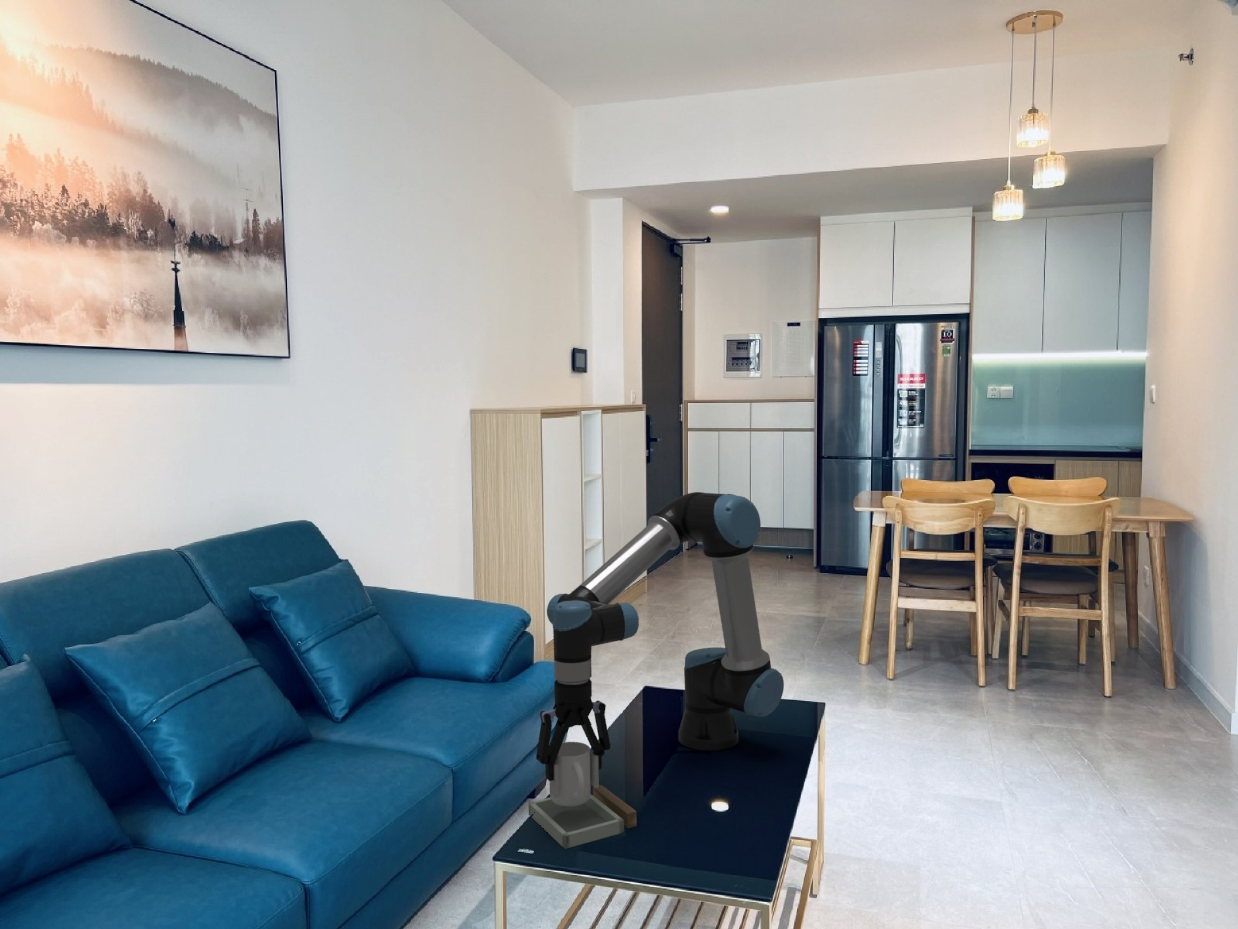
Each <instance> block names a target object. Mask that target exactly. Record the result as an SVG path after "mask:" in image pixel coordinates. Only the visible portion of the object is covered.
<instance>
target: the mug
mask: <svg viewBox="0 0 1238 929" xmlns="http://www.w3.org/2000/svg"><path fill="white" fill-rule="evenodd" d="M590 752H591V746H589V745H588V744H586V743H583V742H581V741H580V742H579V741H563V742H562V745H561V748H560V750H559V753H558V756H557V758H556V761H555V763H557V764H558V766H559V797H558V798H555V797H554V796H553V795H551V794H550V793H549V796H550V797H551V800H552V801H553V802H554V803H555V804H557V805H560V806H578V805H581V804H584V803H586V802H587V801H588V800H589V798H590V794H592V793H591V787H592V785H591V781H590ZM550 797H549V798H550Z"/></svg>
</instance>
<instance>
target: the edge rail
mask: <svg viewBox="0 0 1238 929" xmlns="http://www.w3.org/2000/svg"><path fill="white" fill-rule="evenodd" d="M592 795H593V796H594V797H595V798H597V799H598V800H599V801H600V802H602V803H603V804H604V805H605V806H607V807H608V808H609V809H610V810H612V811H613V812H614V813H616V814H617V815H618V816H619V817H621V818H622V819H623V820H624V827H625V828H627V829H631V828H634V827H638V826H637V825H638V824H637V821H638V820H637V814H638V813H637V811H636V809H634V808H633V807H631V806H630V805H628V804H627V803H626V802H624V801H623V800H622V799H621V798H620V797H618V796H617V795H615V794H614V793H612V792H611V791H610V790H609V789H607V788H606V787H605V786H603V785H602V784H599V788H594V787H593V786H592Z"/></svg>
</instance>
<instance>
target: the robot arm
mask: <svg viewBox="0 0 1238 929" xmlns="http://www.w3.org/2000/svg"><path fill="white" fill-rule="evenodd" d="M761 523H762V522H761V517H760V513H759V511H758V509H757V507H756V505H755V504H754V503H753V502H752V501H751V500H749V499H748V498H747V497H745V496H741V495H736V494H733V493H711V492H704V491H703V492H701V491H695V492H690V493H686V494H684V495H681V496H679V497H677V498H675V499H674V500H671V501H670V502H669V503H667V504H666V505H664V506H663V507H662V508H660V509H659V510H658V511H656V512H655V513H654V514H653V515H652V516H650V517H649V518H648V520H647V525H646V526H645V527H644V528H643V529H642V530H641V531H640V532H639V533H637V534H636V535H634V537H633V538H632V539H631V540H630V541H628V542H627V543H626V544H625V545H624V546H623V547H621V548H620V549H619V550H618V551H617V552H616V553H615V554H614V555H612V556H611V557H610V558H609V559H608V560H607V561H606V562H605V563H603V564H602V565H601V566H600V567H598V569H596V571H594V572H592V574H591V575H589V577H587V578H586V579H585V580H584V581H583V582H581V583H580V584H579V586H576V588H574V589H573V591H571V592H570V593H558V594H555V595H554V596H553V597H552V598H551V599H550V600H549V602H548V603H547V607H546V615H547V620H548V621H549V622H550V624H551V625H552V634H553V637H552V638H553V639H552V640H553V675H554V679H555V680H554V683H553V687H554V688H553V690H554V691H553V693H554V694H553V697H554V705H553V708H552V709H551V710H548V711H545V710H541V711H540V713H539V716H540V723H541V724H540V731H539V737H538V742H537V743H538V744H537V747H536V755H535V758H536V760H537V761H538V763H540V764H541V765H545V766H544V767H545V769H544V770H545V778H546V779H547V781H548V782H549V795H550V794H551V795H553V796H554V797H555V798H558V797H559V766H558V764H557V763H555V761H556V758H557V756H558V753H559V750H560V748H561V745H562V743H563V742H564V739H565V736H566V734H567V733H568V732H569V730H570V728H573V727H576V726H578V727H579V726H581V728H582V731H583V732H584V734H585V737H586V738H587V741H588V744H589V745H590V746H589V747H590V749H591V750H592V751H590V781H591V787H592V788H593V787H594V788H599V785H600V784H599V783H600V782H599V780H600V778H599V771H600V770H602V767H603V764H602V763H603V756H604V755H605V753H606V752H605V751H608V750H609V751H610V749H611V741H610V735H609V730H608V725H607V721H606V720H607V718H606V715H605V714H606V707H607V706H606V704H605V703H604V702H602V701H601V700H596V701H592V696H593V692H592V691H593V688H592V686H593V684H592V682H593V681H592V679H591V678H592V677H593V676H592V648H593V647H595V646H599V645H605V644H609V643H613V642H614V643H615V642H619V641H620V642H621V641H624V640H625V639H626V640H627V639H629V638H632V637H634V636H635V635H636V634H637V632H638V630H639V628H640V627H639V626H640V621H639V620H640V618H639V613H638V611H637V609H636V608H635V607H634V606H633V605H632V604H630V603H628V602H616V603H614V604H612V602H613V601H614V600H615V599H616V598H617V597H618V596H620V595H621V594H622V593H623V592H624V591H625V590H627V589H628V588H629V586H631V585H632V584H633V582H635V581H636V580H637V579H638V578H639V577H641V575H643V574H644V573H645V572H646V571H647V570H649V568H650V567H652V566H653V565H654V564H655V563H656V562H657V561H658V560H659V559H660V558H662V556H664V555H665V554H666V553H667V552H668V551H669V550H670V551H675V550H676V549H678V547H680V546H681V545H682V544H684V543H686V542H691V541H693V542H701V543H702V550H703V551H702V553H703V556H704V557H705V558H707V559H708V560H710V561H711V565H712V567H711V568H712V572H713V573H712V574H713V579H714V585H715V591H716V599H717V603H718V610H719V617H720V624H721V630H722V635H723V642H724V647H722V646H721V647H715V646H714V647H703V648H698V649H694V650H690V651H688V653H686V655H685V657H684V668H683V673H684V676H683V677H684V679H683V680H684V712H683V715H682V719H681V722H680V726H679V728H678V731H677V732H678V742H679V743H680V744H681V745H683V746H685V747H687V748H689V749H692V750H693V749H694V750H698V751H722V750H728V749H731V748H734V747H735V746H737V744H738V743H739V729H738V727H737V723H736V721H735V718H734V714H733V711H732V710H735V711H739V712H741V713H745V714H746V715H748V716H756V717H759V718H760V717H761V718H762V717H766V716H769V715H770V714H771V713H772V712H774V711H775V710H776V708H777V707H778V706H779V704H780V702H781V699H782V698H783V694H784V690H785V689H784V688H785V687H784V686H785V682H784V681H785V680H784V677H783V674H782V672H779V670H778V669H776V668H773V667H772V663H771V657H770V654H769V652H767V651H765V650H764V648H763V647H762V641H761V634H760V628H759V619H758V614H757V608H756V607H757V606H756V601H755V593H754V588H753V582H752V574H751V568H750V561H749V555H750V554H751V553H752V551H754V544H755V543H756V541H758V538H759V532H761ZM592 711H593V714H594V715H593V716H594V720H595V725H596V726H595V727H596V731H597V735H596V733H595V732H596V731H595V730H594V729H593V725H592V722H591V721H590V718H589V716H590V714H591V713H592ZM554 717H556V718H557V719H556V722H555V726H554V727H555V729H554V732H553V735H552V728H553V726H552V724H553V722H554ZM551 735H552V737H551ZM597 736H598V737H597Z"/></svg>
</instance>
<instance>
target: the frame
mask: <svg viewBox="0 0 1238 929" xmlns="http://www.w3.org/2000/svg"><path fill="white" fill-rule="evenodd" d="M534 812H535V813H534ZM532 814H534V815H533V816H532V817H531V815H532ZM528 816H529V817H531V819H533V820H534V821H535V822H536V823H537V824H538V825H539V826H540V825H541V826H540V827H542V829H543V828H544V829H543V830H544V831H545V832H546V833H547V832H548V835H550V837H552V838H553V839H554V841H555V842H557V843H558V844H559V845H560V846H561V847H562V848H563V849H564V850H567V849H570V848H573V847H577V846H580V845H581V846H582V845H584V844H588V843H591V842H595V841H599V840H602V839H606V838H609V837H612V836H616V835H621V834H622V833H623V834H624V833H625V826H624V820H623V819H622V818H621V817H619V816H618V815H617V814H616V813H614V812H613V811H612V810H610V809H609V808H608V807H607V806H605V805H604V804H603V803H602V802H600V801H599V800H598V799H597V798H595V797H594V796H593V794H592V793H590V798H589V800H588V801H587V802H586V803H584V804H581V805H578V806H560V805H557V804H555V803H554V802H553V801H552V800H551V797H546V798H542V799H537V800H534V801H530V802H528Z"/></svg>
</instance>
